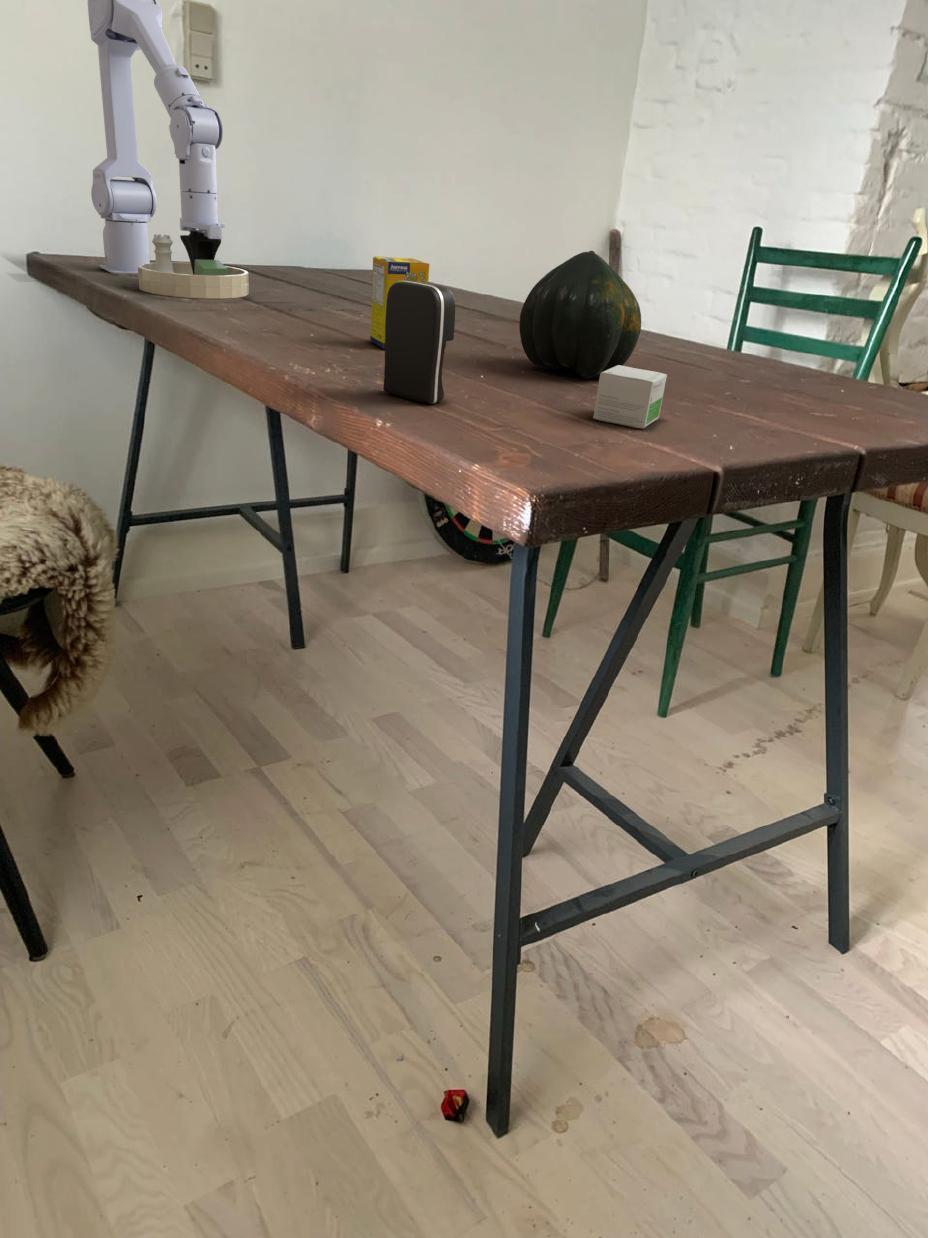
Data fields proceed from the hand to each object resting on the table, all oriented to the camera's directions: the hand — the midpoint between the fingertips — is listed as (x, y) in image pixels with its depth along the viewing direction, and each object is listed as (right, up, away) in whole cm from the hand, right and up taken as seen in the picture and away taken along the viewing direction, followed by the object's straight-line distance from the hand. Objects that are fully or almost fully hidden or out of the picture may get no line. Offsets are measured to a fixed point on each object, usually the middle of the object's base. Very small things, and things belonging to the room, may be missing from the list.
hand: (202, 281), depth 152 cm
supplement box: (+35, -20, -30) cm, 50 cm away
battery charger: (+39, -34, -57) cm, 76 cm away
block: (+2, -2, -2) cm, 4 cm away
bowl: (0, -3, -3) cm, 4 cm away
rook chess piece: (-5, -2, -3) cm, 7 cm away
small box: (+61, -36, -58) cm, 91 cm away
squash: (+58, -25, -36) cm, 73 cm away
